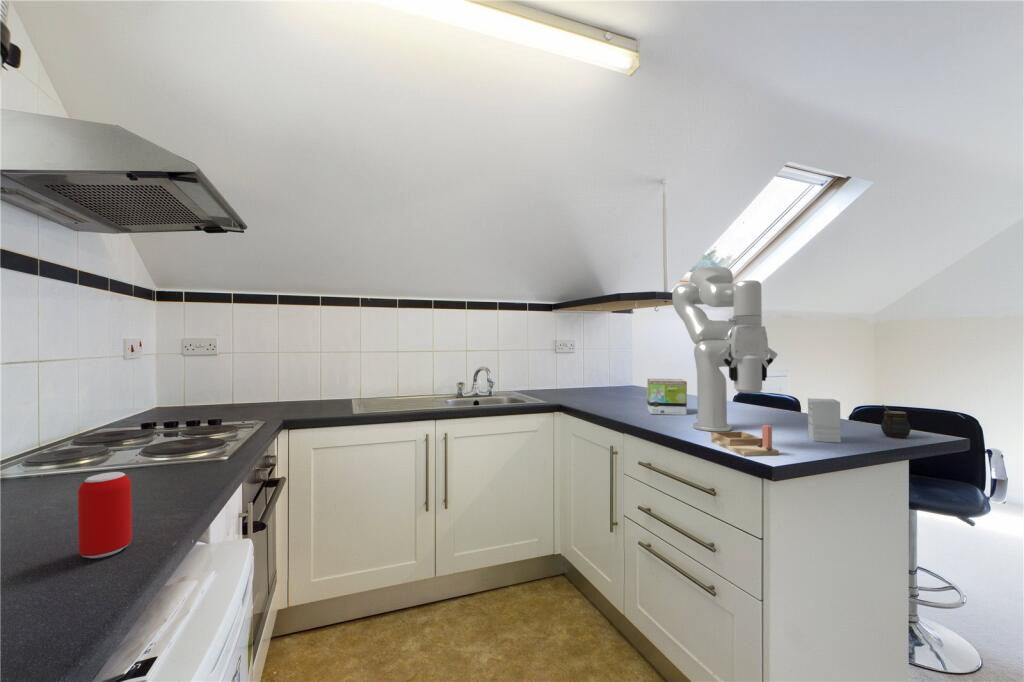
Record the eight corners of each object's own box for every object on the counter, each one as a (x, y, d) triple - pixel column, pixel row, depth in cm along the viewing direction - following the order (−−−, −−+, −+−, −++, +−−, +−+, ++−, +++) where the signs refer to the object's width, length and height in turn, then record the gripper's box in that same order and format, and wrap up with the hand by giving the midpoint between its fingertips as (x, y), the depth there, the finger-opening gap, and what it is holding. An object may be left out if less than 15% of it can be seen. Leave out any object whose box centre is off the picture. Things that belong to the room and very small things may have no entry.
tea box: (650, 414, 187) (650, 380, 187) (647, 411, 197) (646, 378, 197) (687, 415, 185) (686, 380, 185) (682, 411, 195) (681, 378, 195)
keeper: (762, 424, 124) (766, 424, 124) (762, 446, 124) (766, 446, 124) (767, 426, 121) (771, 426, 122) (768, 448, 121) (772, 448, 122)
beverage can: (70, 565, 65) (69, 484, 65) (89, 547, 71) (88, 473, 71) (123, 556, 68) (122, 478, 68) (137, 539, 73) (136, 468, 73)
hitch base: (711, 441, 137) (711, 432, 137) (741, 440, 138) (741, 431, 138) (743, 456, 120) (743, 445, 120) (778, 455, 121) (778, 444, 121)
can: (760, 390, 134) (760, 351, 134) (764, 393, 127) (763, 352, 127) (733, 389, 137) (732, 351, 137) (735, 392, 130) (734, 352, 130)
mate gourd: (902, 440, 136) (901, 408, 136) (874, 435, 143) (873, 405, 143) (916, 437, 138) (915, 406, 139) (888, 433, 146) (887, 403, 146)
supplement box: (835, 438, 140) (834, 398, 140) (841, 443, 133) (840, 401, 133) (807, 436, 143) (807, 397, 143) (812, 441, 136) (811, 400, 136)
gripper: (721, 322, 129) (721, 381, 129) (784, 321, 127) (784, 381, 127) (712, 322, 137) (713, 379, 137) (772, 322, 135) (772, 379, 135)
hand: (747, 380), depth 132 cm, fingers closed on can, 7 cm apart
